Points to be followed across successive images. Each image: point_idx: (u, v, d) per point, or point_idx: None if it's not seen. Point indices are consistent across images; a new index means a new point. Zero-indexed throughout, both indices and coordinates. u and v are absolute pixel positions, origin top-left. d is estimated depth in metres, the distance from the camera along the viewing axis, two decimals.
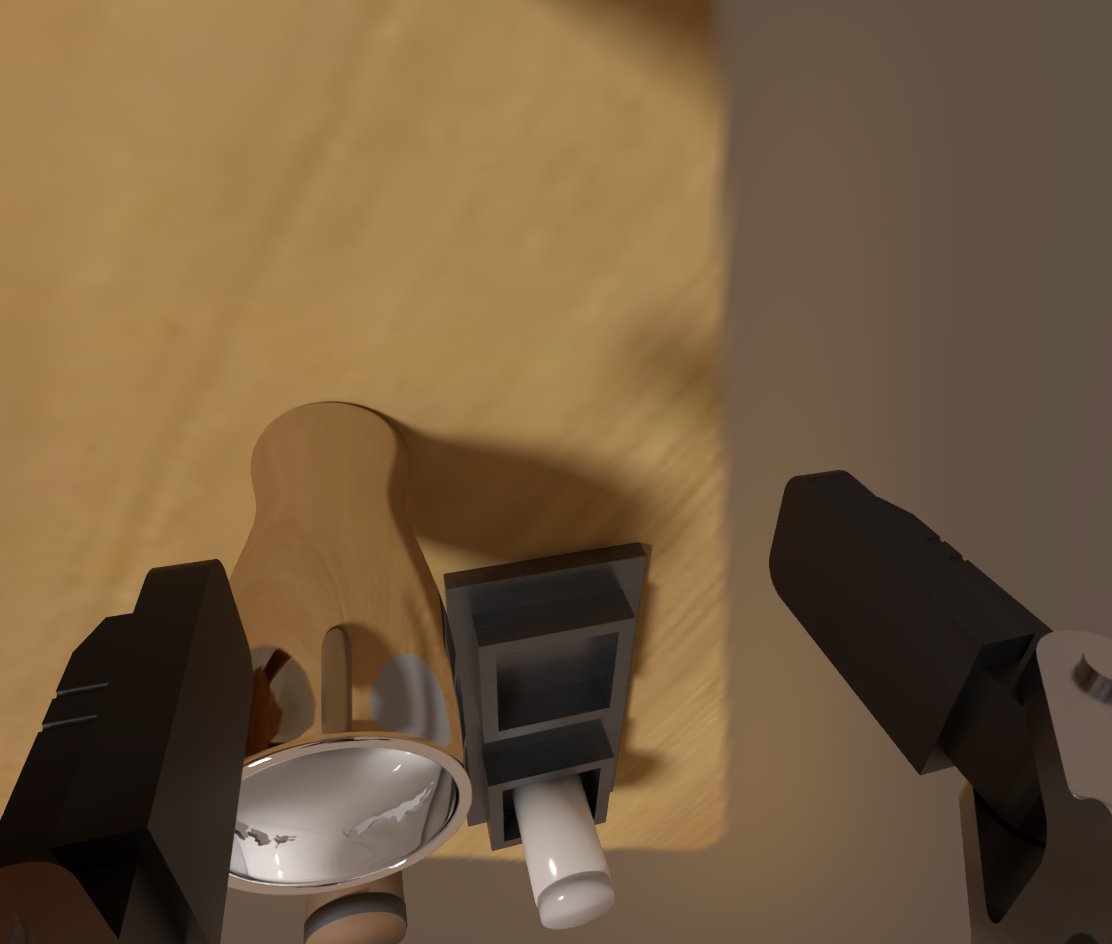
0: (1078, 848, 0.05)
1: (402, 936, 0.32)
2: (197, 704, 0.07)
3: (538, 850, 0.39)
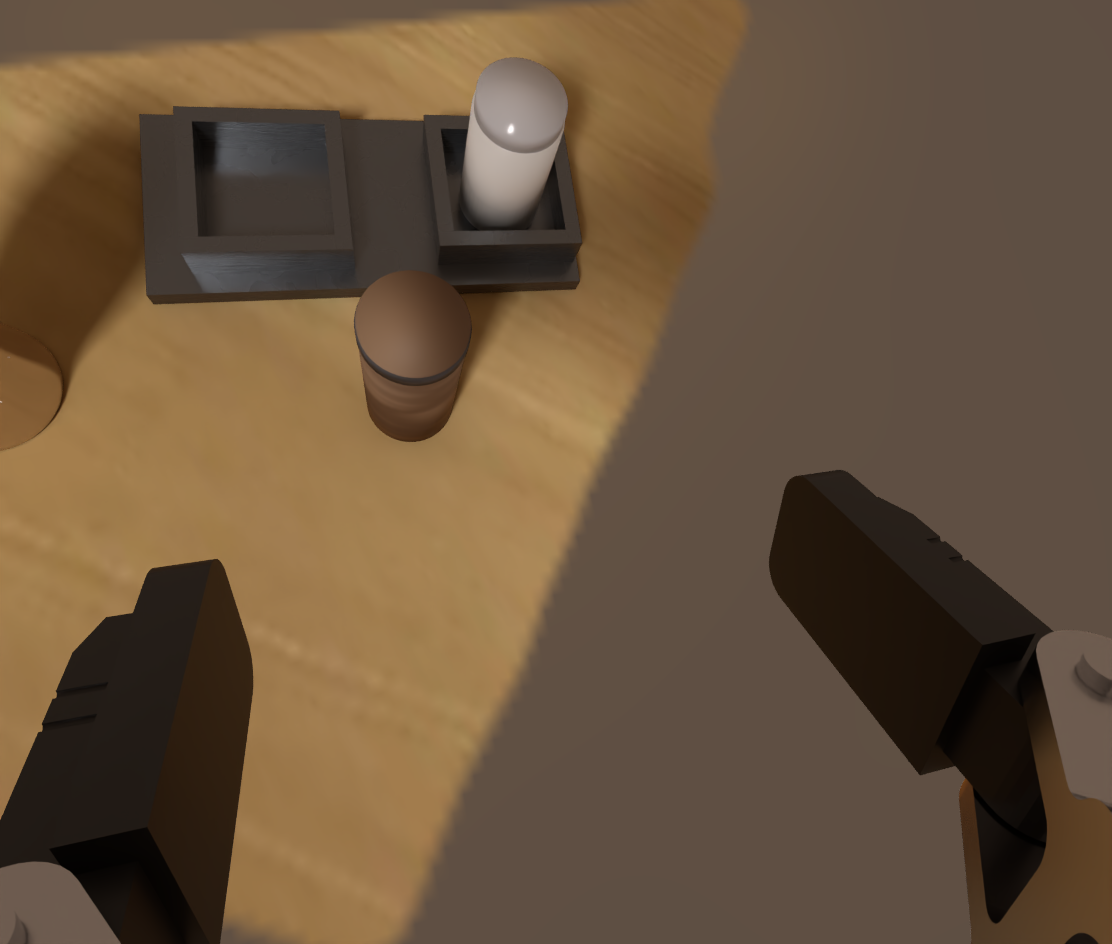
0: (1079, 848, 0.05)
1: (429, 275, 0.27)
2: (196, 705, 0.07)
3: (486, 169, 0.33)
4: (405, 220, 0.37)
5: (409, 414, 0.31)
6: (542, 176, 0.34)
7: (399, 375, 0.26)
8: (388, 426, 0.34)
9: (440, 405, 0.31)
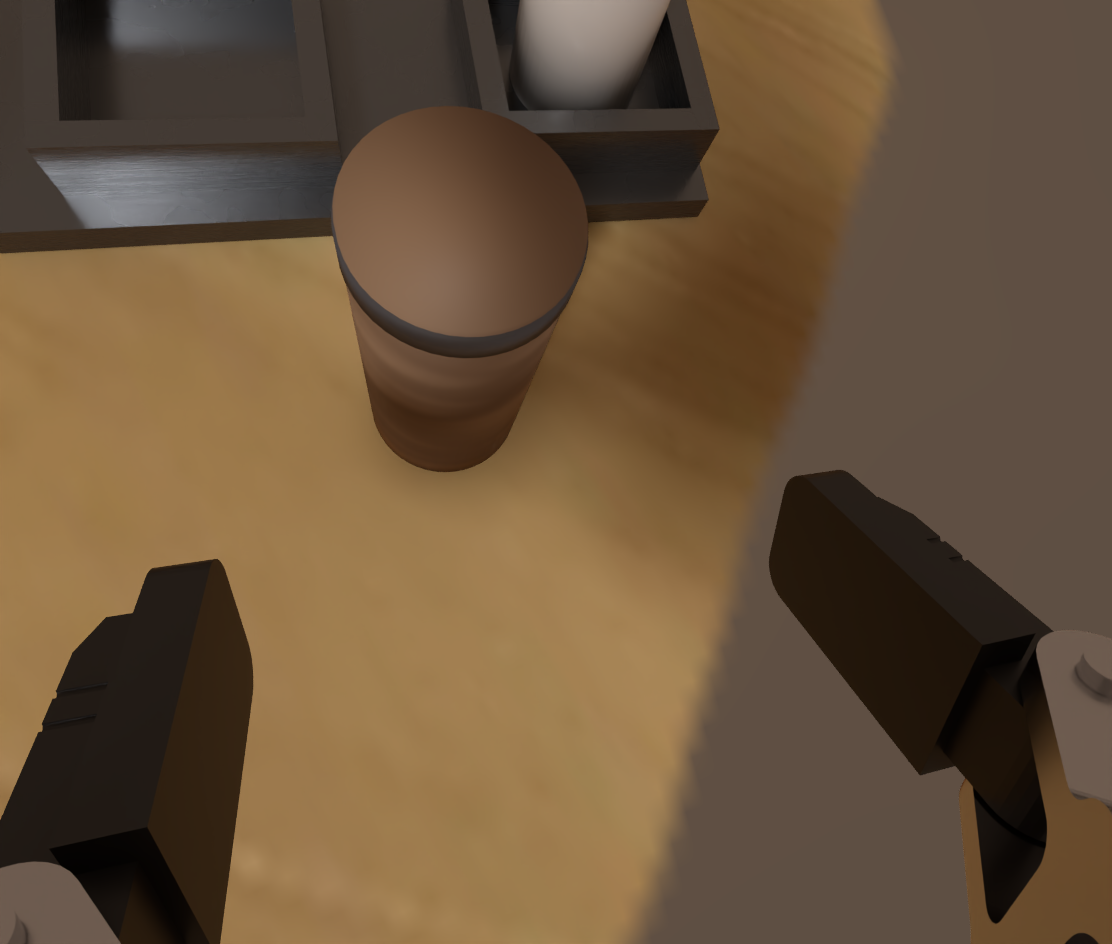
0: (1078, 846, 0.05)
1: (492, 117, 0.13)
2: (195, 705, 0.07)
3: None
4: (425, 107, 0.23)
5: (452, 422, 0.16)
6: None
7: (436, 331, 0.12)
8: (410, 447, 0.19)
9: (509, 404, 0.16)
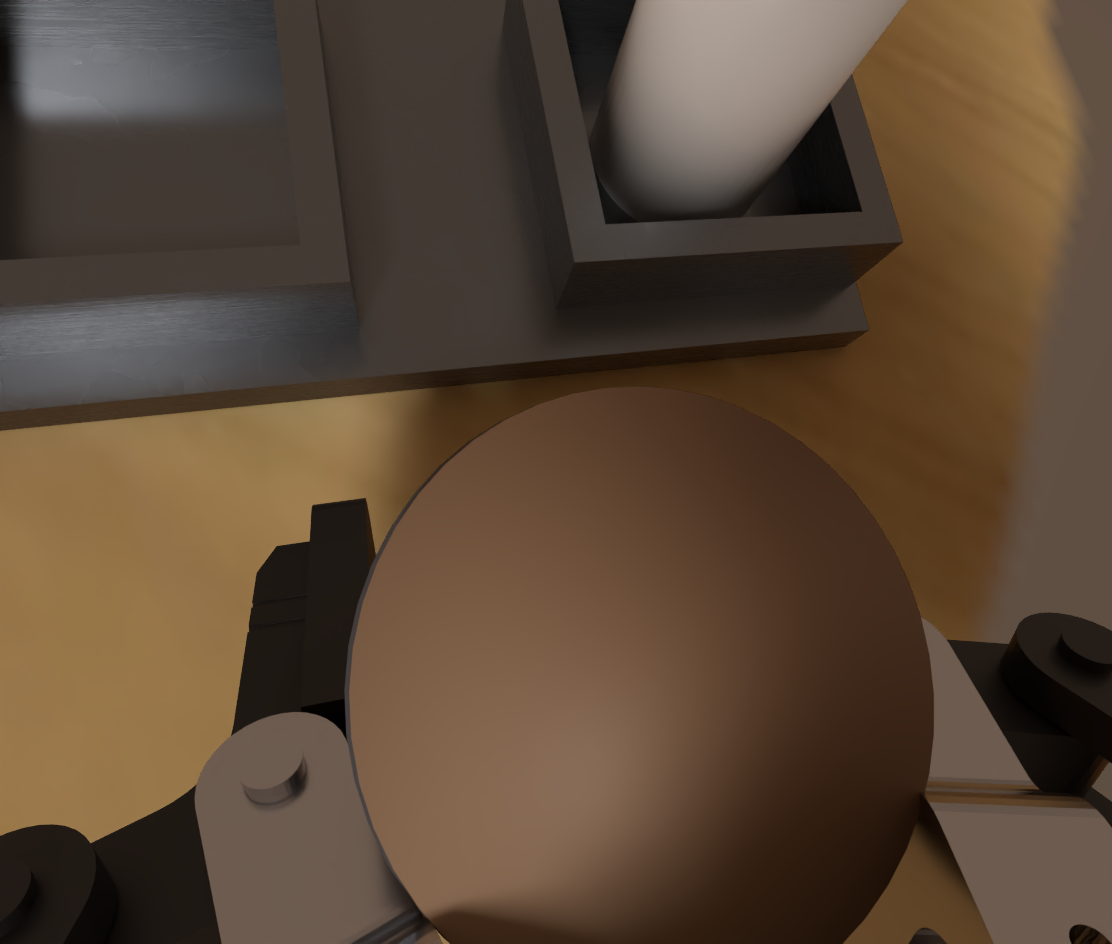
0: None
1: (708, 406, 0.06)
2: None
3: (719, 41, 0.12)
4: (474, 206, 0.16)
5: None
6: (859, 62, 0.12)
7: None
8: None
9: None
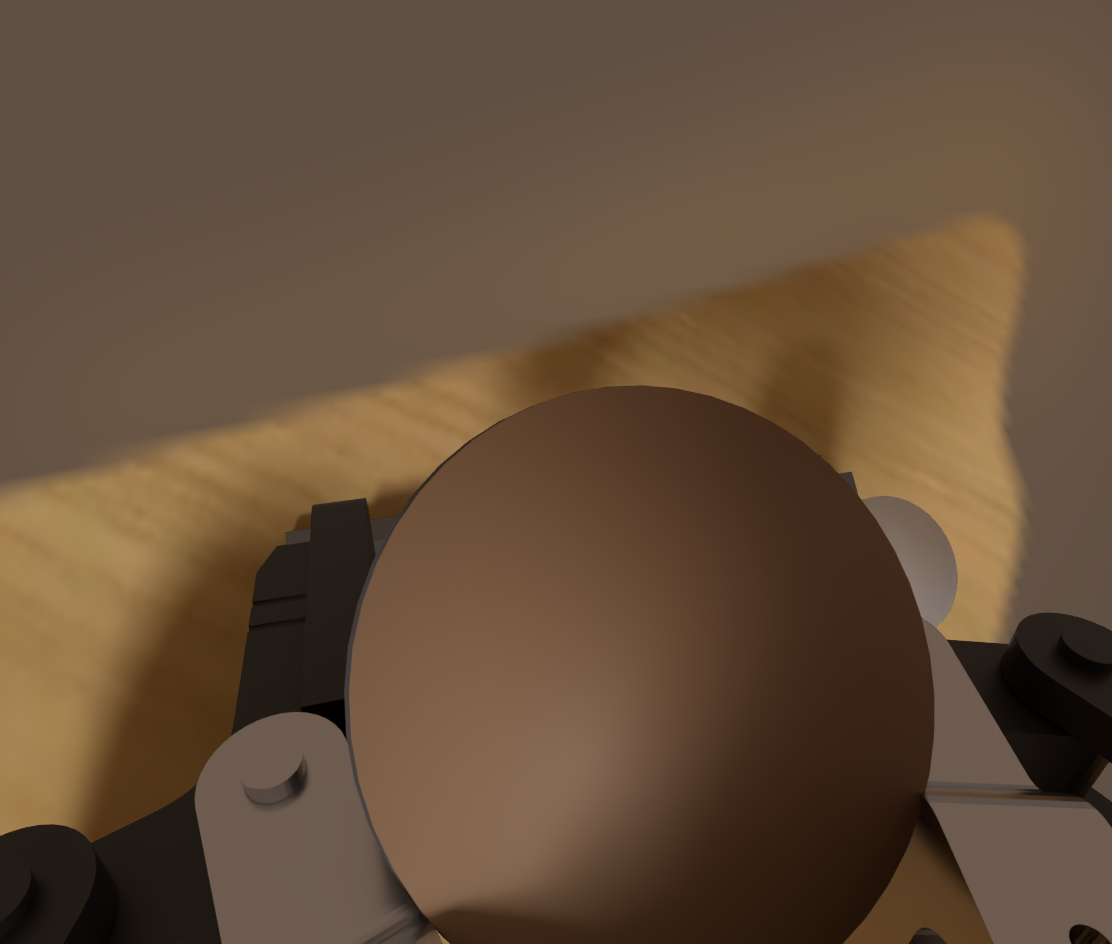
0: None
1: (708, 405, 0.06)
2: None
3: None
4: None
5: None
6: None
7: None
8: None
9: None
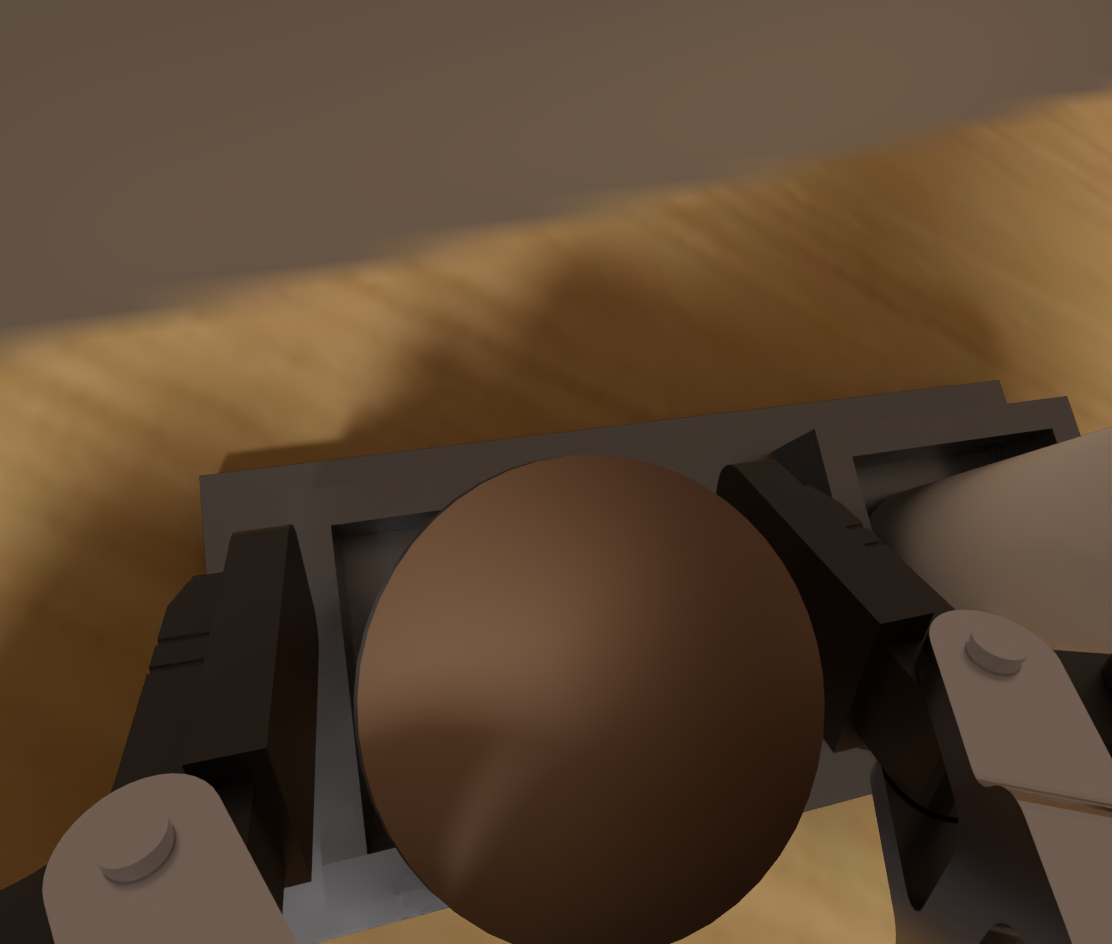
0: (991, 835, 0.05)
1: (646, 470, 0.07)
2: (287, 651, 0.08)
3: (1079, 637, 0.13)
4: None
5: None
6: None
7: None
8: None
9: None
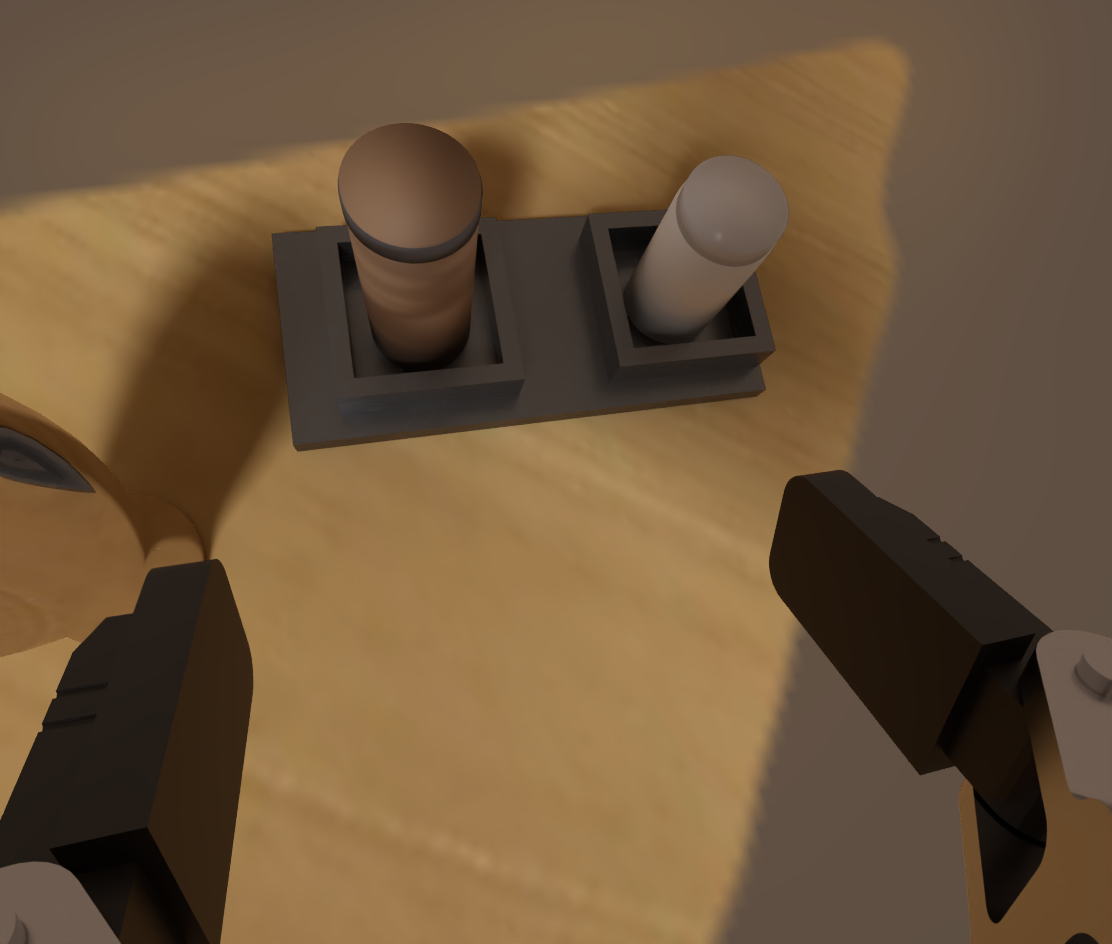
0: (1078, 848, 0.05)
1: (430, 129, 0.22)
2: (197, 705, 0.07)
3: (682, 282, 0.28)
4: (568, 333, 0.32)
5: (414, 319, 0.26)
6: None
7: (392, 244, 0.21)
8: (393, 347, 0.29)
9: (450, 309, 0.26)
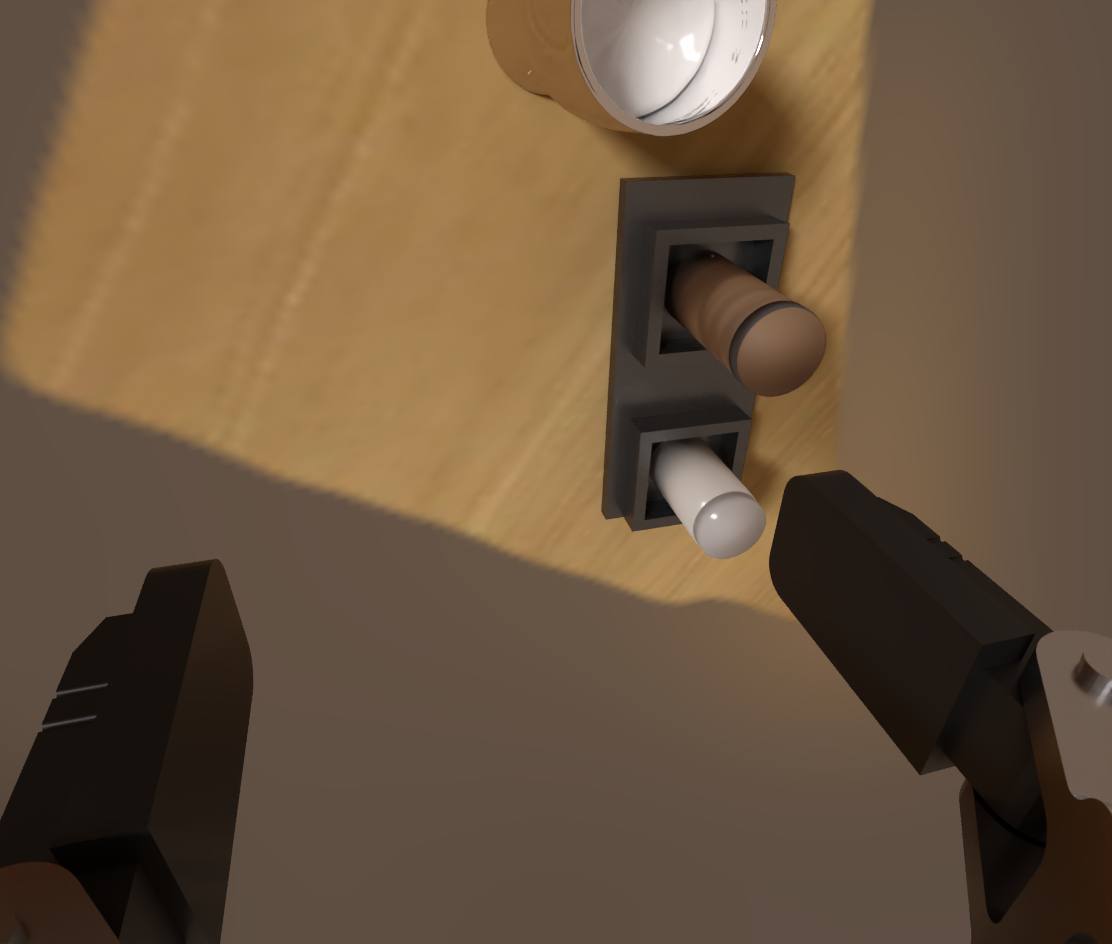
0: (1078, 846, 0.05)
1: (814, 369, 0.33)
2: (197, 704, 0.07)
3: (690, 485, 0.42)
4: (670, 393, 0.44)
5: (699, 311, 0.36)
6: (681, 521, 0.43)
7: (745, 337, 0.32)
8: (686, 275, 0.38)
9: (699, 337, 0.36)
